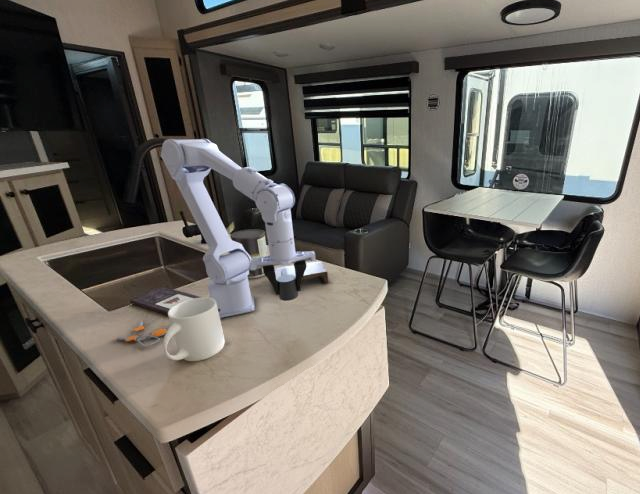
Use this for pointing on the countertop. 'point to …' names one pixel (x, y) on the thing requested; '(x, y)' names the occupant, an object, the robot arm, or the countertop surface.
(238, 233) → the coffee can
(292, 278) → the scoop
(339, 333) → the countertop surface
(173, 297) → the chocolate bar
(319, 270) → the shelf
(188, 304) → the mug
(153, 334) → the key chain
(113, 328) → the countertop surface
